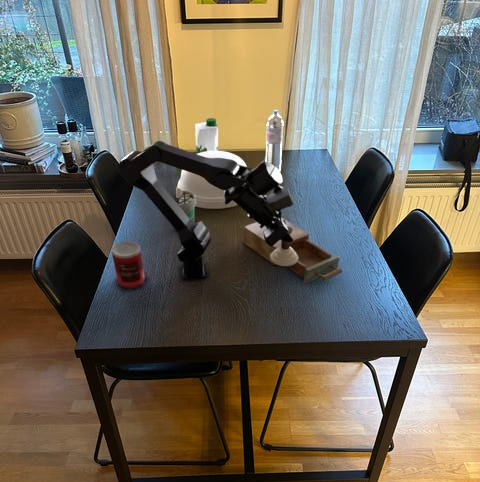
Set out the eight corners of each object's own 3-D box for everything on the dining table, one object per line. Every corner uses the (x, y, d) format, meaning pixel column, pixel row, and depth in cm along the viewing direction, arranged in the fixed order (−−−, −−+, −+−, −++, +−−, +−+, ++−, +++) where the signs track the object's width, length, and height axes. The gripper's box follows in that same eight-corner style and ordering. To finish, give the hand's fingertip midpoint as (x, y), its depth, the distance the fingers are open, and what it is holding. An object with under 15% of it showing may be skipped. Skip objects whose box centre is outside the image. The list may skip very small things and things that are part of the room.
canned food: (132, 270, 135) (127, 238, 128) (150, 280, 131) (146, 247, 124) (112, 281, 130) (105, 249, 123) (130, 292, 126) (124, 259, 120)
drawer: (347, 275, 132) (349, 263, 129) (316, 290, 126) (318, 277, 124) (304, 248, 144) (305, 236, 141) (274, 260, 138) (275, 248, 135)
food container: (192, 234, 151) (190, 207, 145) (174, 233, 152) (171, 205, 146) (201, 217, 161) (200, 191, 154) (185, 216, 161) (183, 189, 155)
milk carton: (220, 170, 194) (219, 122, 182) (200, 172, 192) (197, 124, 180) (215, 162, 201) (214, 116, 188) (195, 165, 199) (192, 117, 186)
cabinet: (307, 250, 144) (309, 234, 140) (274, 264, 138) (275, 247, 134) (276, 231, 154) (277, 214, 150) (243, 243, 148) (244, 226, 144)
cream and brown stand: (301, 265, 126) (304, 235, 120) (273, 267, 125) (275, 237, 119) (294, 249, 132) (297, 221, 126) (267, 251, 131) (269, 223, 125)
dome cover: (187, 214, 163) (184, 177, 154) (166, 182, 184) (162, 148, 175) (268, 200, 172) (270, 164, 163) (239, 171, 194) (239, 138, 185)
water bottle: (261, 170, 195) (264, 109, 179) (275, 167, 197) (279, 107, 181) (269, 176, 190) (272, 114, 174) (283, 173, 192) (287, 112, 176)
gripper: (282, 197, 106) (322, 236, 114) (269, 166, 120) (305, 202, 128) (248, 228, 110) (289, 263, 118) (239, 195, 124) (276, 228, 133)
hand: (290, 237), depth 124 cm, fingers closed on cream and brown stand, 3 cm apart
